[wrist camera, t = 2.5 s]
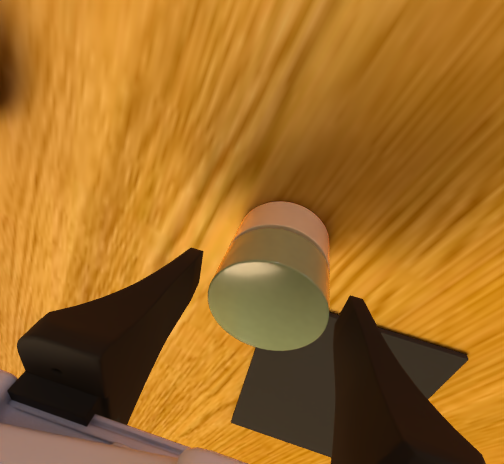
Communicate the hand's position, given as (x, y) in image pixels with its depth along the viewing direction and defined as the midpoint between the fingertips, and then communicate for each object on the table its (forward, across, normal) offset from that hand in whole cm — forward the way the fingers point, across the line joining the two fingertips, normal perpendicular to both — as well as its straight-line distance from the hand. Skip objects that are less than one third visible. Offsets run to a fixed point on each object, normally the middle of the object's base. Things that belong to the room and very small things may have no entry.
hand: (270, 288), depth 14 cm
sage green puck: (+1, 0, 0) cm, 1 cm away
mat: (+4, -7, +14) cm, 16 cm away
